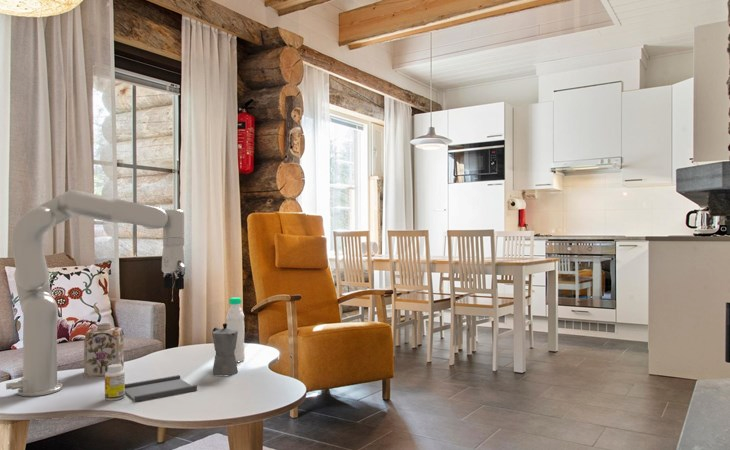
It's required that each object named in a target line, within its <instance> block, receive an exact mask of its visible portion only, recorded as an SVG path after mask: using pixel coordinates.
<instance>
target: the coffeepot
mask: <svg viewBox="0 0 730 450" xmlns="http://www.w3.org/2000/svg"><path fill="white" fill-rule="evenodd" d="M211 334H212V335H211V336H212V341H213V346H214V347H213V348H214V351H215V354H214V360H213V367H212V374H214V375H213V376H215V375H229V376H233V375H232V374H234V373H236V374H237V373H239V370H238V365H237V362H236V358H235V352H234V350H235V349H236V342H237V335H238V331H237V330H234V329H228V328H227V322H226V323H222V328H220V327H219V328H218V327H214V328H213V329H212V330H211ZM234 375H235V374H234Z"/></svg>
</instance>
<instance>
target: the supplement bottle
mask: <svg viewBox="0 0 730 450" xmlns="http://www.w3.org/2000/svg"><path fill="white" fill-rule="evenodd" d="M107 370H108V372H106V373H105V376H104V399H105V400H107V401H119V400H122V399H123V398H124V397H125V396H126V393H125V384H126V383H125V371H124V370H123V369H122V365H121V364H112V365H109V366H108V369H107Z"/></svg>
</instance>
